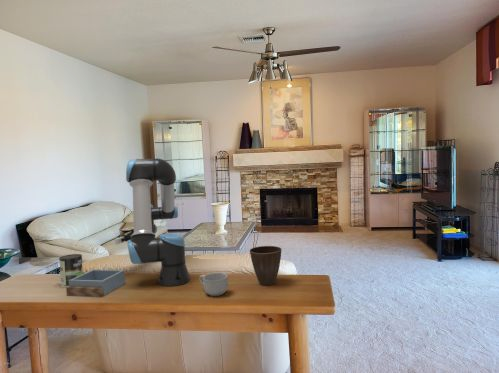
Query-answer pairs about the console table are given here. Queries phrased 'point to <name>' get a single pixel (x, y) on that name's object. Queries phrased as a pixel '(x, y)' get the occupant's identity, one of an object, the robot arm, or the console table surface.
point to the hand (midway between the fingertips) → (116, 241)
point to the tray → (100, 279)
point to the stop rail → (85, 291)
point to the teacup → (215, 283)
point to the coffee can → (70, 268)
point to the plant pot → (266, 263)
